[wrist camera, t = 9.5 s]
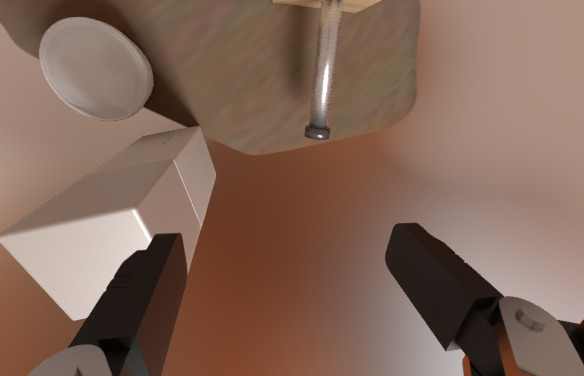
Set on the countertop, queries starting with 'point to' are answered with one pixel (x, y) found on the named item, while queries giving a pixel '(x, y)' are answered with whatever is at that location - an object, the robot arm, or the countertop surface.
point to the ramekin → (95, 68)
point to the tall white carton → (115, 217)
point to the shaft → (324, 69)
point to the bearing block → (352, 3)
